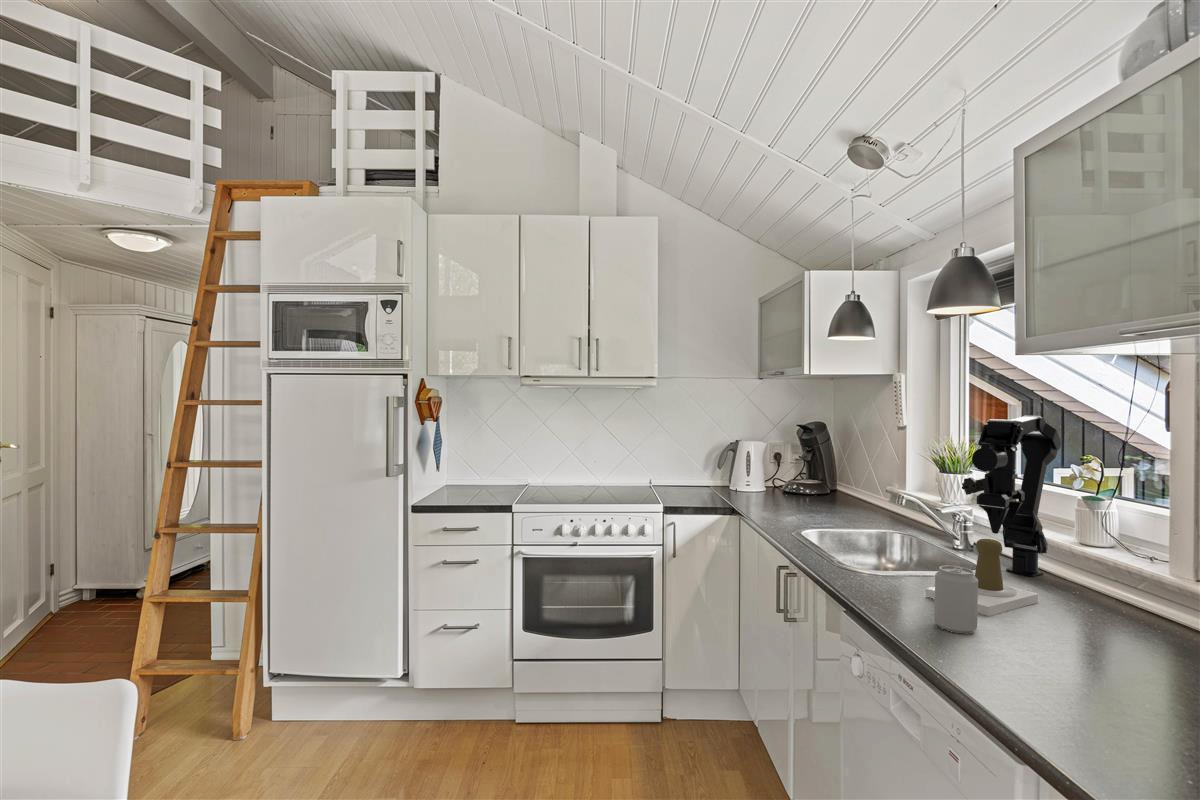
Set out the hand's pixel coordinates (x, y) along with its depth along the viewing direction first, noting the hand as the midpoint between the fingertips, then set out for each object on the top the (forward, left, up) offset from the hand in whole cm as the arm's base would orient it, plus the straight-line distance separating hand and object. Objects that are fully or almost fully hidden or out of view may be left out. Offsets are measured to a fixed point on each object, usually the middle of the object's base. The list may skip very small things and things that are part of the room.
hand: (1000, 530), depth 157 cm
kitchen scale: (+18, +6, -13) cm, 23 cm away
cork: (+16, +6, -11) cm, 20 cm away
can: (+42, +14, -13) cm, 46 cm away
